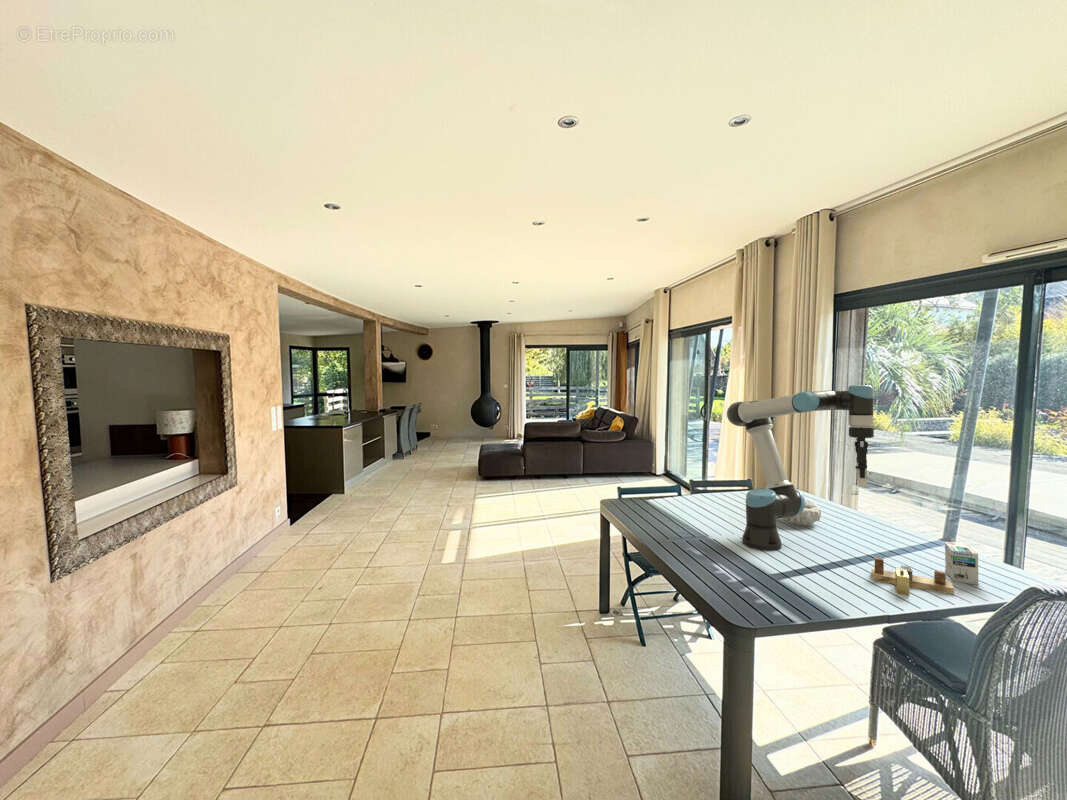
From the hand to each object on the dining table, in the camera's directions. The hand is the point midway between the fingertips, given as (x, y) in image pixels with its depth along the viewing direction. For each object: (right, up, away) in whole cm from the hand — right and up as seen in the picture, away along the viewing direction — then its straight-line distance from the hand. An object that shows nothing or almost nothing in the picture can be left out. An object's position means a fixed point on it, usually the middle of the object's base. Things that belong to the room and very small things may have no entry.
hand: (861, 483), depth 165 cm
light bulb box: (+28, -32, -10) cm, 43 cm away
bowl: (+9, -31, +56) cm, 64 cm away
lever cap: (0, -32, -18) cm, 37 cm away
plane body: (+7, -32, -13) cm, 35 cm away
